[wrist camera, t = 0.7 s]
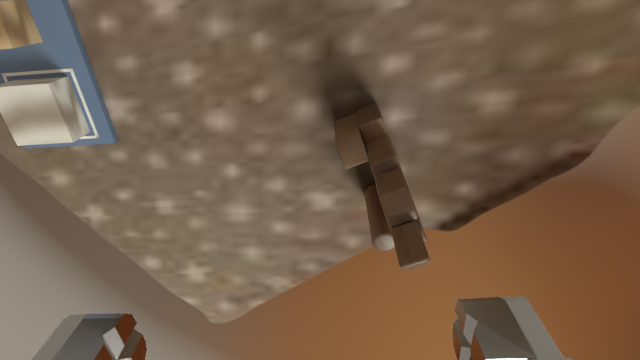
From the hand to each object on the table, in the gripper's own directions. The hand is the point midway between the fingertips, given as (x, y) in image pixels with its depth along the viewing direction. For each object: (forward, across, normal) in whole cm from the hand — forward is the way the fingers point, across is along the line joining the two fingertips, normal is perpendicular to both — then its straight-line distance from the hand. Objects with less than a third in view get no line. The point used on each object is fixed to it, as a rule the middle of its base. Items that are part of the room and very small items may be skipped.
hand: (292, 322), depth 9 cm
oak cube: (+43, +39, -6) cm, 58 cm away
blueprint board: (+44, +39, 0) cm, 58 cm away
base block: (+43, +39, +5) cm, 58 cm away
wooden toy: (+44, -6, +16) cm, 47 cm away
